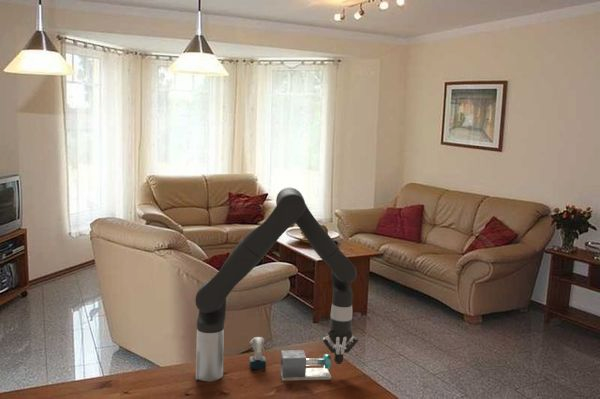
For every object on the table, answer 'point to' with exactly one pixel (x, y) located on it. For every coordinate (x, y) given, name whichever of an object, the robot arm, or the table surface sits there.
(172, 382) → the table surface
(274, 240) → the robot arm
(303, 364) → the shaft housing
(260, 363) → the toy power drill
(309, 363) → the shaft
